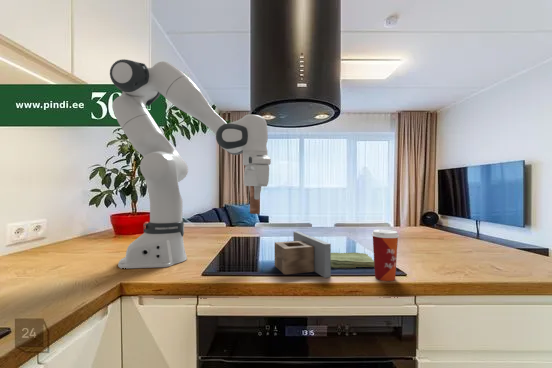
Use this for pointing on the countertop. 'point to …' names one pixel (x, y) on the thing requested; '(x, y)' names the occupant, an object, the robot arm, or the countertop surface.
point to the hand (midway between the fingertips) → (254, 199)
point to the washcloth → (351, 260)
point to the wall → (317, 253)
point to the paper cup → (385, 254)
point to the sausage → (254, 202)
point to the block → (294, 257)
